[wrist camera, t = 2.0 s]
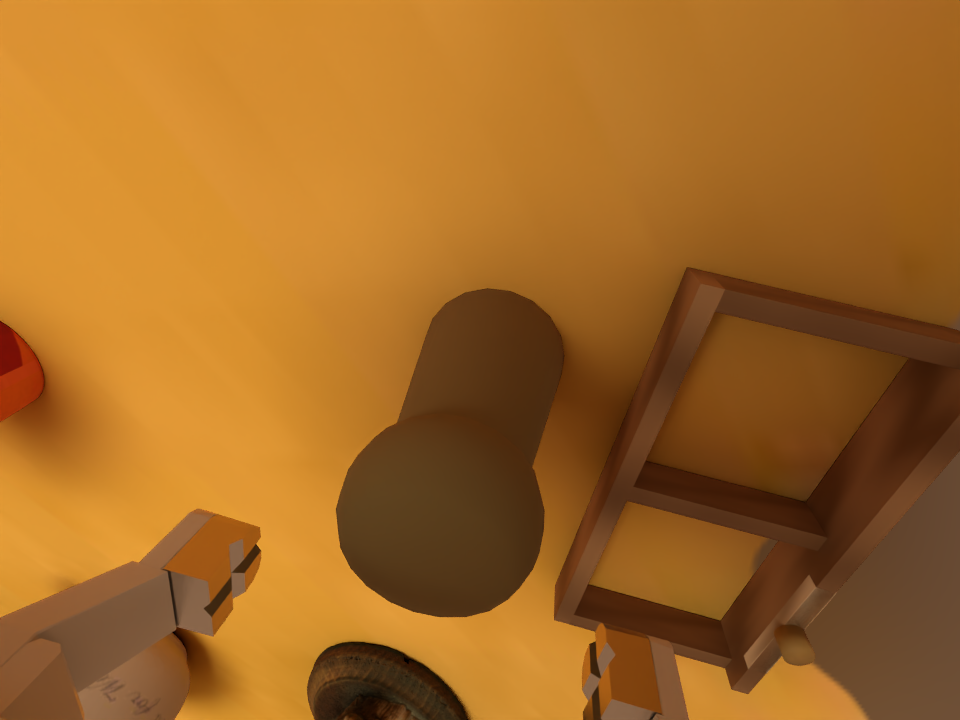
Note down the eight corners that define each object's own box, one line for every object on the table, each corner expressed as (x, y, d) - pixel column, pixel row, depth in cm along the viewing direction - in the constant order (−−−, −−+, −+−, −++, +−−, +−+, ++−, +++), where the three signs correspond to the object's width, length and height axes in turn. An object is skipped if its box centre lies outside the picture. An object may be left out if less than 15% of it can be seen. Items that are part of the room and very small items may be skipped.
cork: (564, 416, 21) (562, 670, 11) (434, 414, 22) (328, 643, 12) (563, 285, 18) (558, 469, 8) (415, 290, 19) (261, 457, 10)
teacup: (240, 671, 36) (160, 805, 29) (147, 685, 39) (56, 807, 32) (113, 544, 31) (-20, 667, 24) (21, 573, 35) (-118, 687, 28)
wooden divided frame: (687, 267, 17) (718, 304, 14) (962, 331, 16) (1069, 387, 13) (555, 586, 26) (553, 659, 22) (732, 635, 25) (759, 718, 22)
